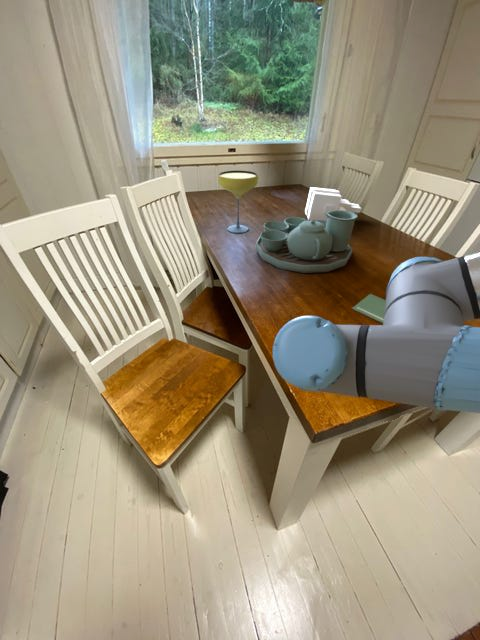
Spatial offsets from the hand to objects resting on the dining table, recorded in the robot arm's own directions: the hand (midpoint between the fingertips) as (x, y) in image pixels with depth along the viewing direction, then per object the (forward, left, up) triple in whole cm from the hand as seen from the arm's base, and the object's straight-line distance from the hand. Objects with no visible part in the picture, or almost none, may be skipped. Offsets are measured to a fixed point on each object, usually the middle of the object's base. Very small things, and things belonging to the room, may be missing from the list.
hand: (359, 377), depth 59 cm
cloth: (+7, -34, -4) cm, 35 cm away
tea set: (+52, -50, -5) cm, 72 cm away
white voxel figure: (+68, -99, -5) cm, 120 cm away
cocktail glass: (+90, -48, -5) cm, 102 cm away
